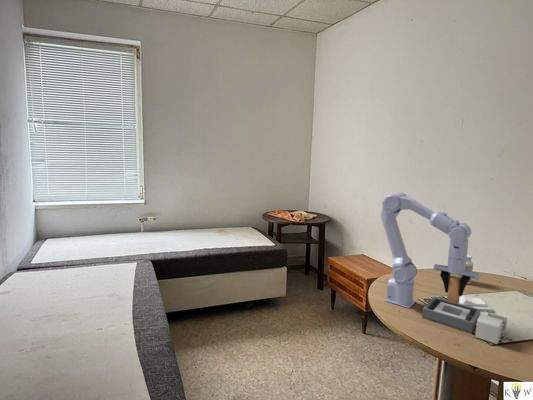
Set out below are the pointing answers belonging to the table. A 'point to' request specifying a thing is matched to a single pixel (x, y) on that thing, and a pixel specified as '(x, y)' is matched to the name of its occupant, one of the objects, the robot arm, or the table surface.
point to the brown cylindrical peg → (453, 289)
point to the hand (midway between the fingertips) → (453, 293)
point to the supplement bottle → (468, 266)
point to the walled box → (452, 314)
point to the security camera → (491, 327)
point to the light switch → (475, 303)
